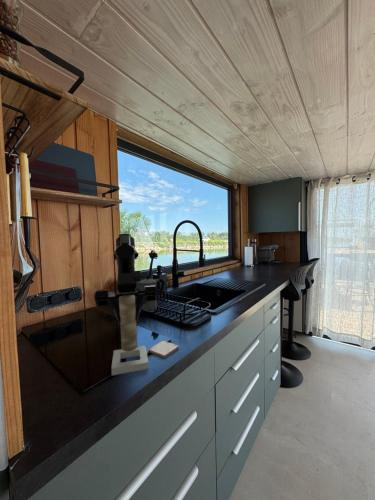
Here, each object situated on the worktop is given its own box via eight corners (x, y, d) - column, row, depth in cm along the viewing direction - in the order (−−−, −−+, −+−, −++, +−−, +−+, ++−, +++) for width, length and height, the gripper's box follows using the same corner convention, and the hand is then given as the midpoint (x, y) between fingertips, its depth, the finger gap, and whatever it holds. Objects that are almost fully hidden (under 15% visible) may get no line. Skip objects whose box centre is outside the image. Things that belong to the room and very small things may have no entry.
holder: (114, 356, 71) (113, 350, 71) (145, 351, 73) (145, 345, 73) (111, 375, 61) (111, 368, 61) (148, 368, 64) (148, 362, 64)
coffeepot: (137, 315, 106) (135, 278, 105) (134, 309, 115) (132, 275, 114) (168, 310, 112) (167, 275, 111) (163, 305, 121) (162, 272, 120)
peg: (119, 351, 65) (116, 299, 63) (124, 343, 69) (121, 294, 68) (135, 351, 65) (133, 298, 63) (138, 343, 69) (136, 294, 68)
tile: (148, 351, 73) (148, 349, 73) (163, 342, 79) (162, 340, 79) (164, 358, 69) (164, 355, 69) (178, 348, 75) (178, 346, 75)
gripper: (93, 264, 66) (89, 312, 57) (155, 260, 71) (161, 304, 61) (98, 284, 75) (95, 329, 65) (153, 279, 79) (159, 321, 70)
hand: (128, 321), depth 65 cm, fingers closed on peg, 5 cm apart
